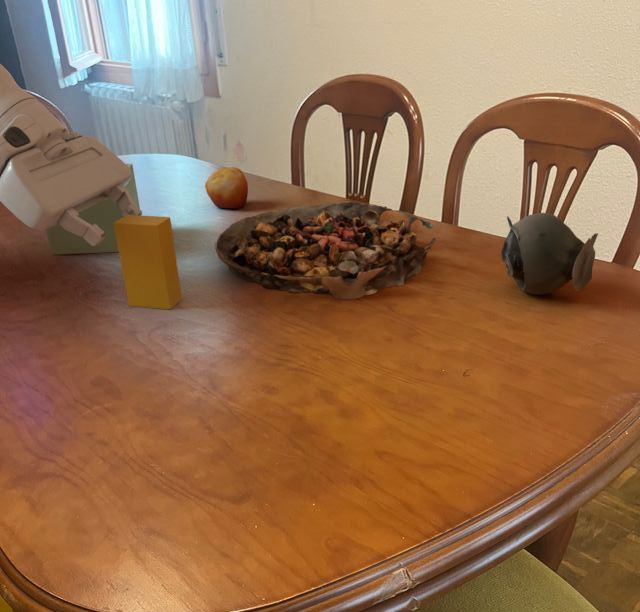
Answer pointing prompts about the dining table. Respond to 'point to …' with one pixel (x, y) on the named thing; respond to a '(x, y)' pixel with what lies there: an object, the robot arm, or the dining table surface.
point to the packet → (148, 261)
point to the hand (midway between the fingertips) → (119, 229)
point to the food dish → (324, 249)
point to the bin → (97, 214)
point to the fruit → (227, 188)
